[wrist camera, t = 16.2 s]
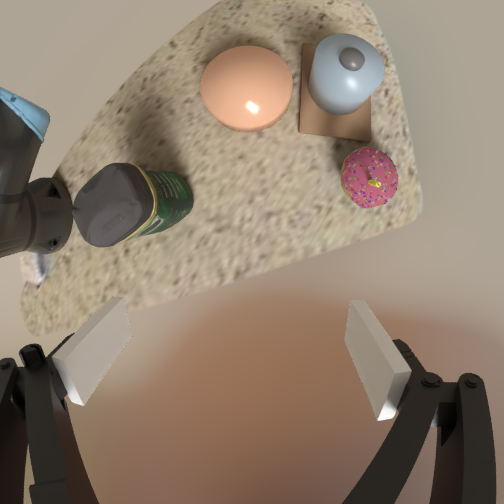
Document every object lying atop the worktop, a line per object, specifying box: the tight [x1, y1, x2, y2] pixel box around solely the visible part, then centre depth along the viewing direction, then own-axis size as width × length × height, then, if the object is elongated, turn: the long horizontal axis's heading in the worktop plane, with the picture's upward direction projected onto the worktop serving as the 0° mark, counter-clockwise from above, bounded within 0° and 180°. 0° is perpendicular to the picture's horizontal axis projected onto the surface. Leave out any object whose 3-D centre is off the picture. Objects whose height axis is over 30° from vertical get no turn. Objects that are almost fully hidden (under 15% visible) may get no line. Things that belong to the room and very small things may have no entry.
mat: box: [299, 44, 371, 143], centre depth 38 cm, size 11×16×1 cm
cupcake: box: [341, 147, 398, 208], centre depth 35 cm, size 9×8×12 cm
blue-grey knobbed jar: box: [308, 34, 385, 115], centre depth 32 cm, size 9×9×11 cm
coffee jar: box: [72, 163, 194, 247], centre depth 35 cm, size 10×8×19 cm
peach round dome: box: [200, 46, 293, 132], centre depth 37 cm, size 13×13×5 cm
